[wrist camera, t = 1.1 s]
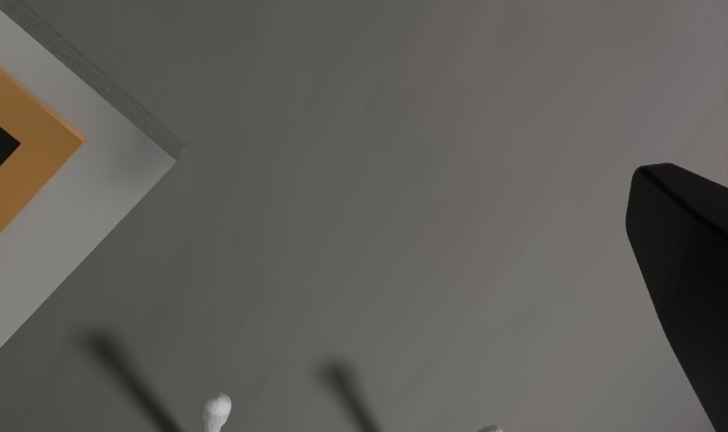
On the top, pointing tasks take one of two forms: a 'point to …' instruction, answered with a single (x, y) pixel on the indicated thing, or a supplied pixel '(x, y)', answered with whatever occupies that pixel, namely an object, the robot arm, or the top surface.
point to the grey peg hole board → (63, 160)
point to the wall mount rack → (220, 408)
